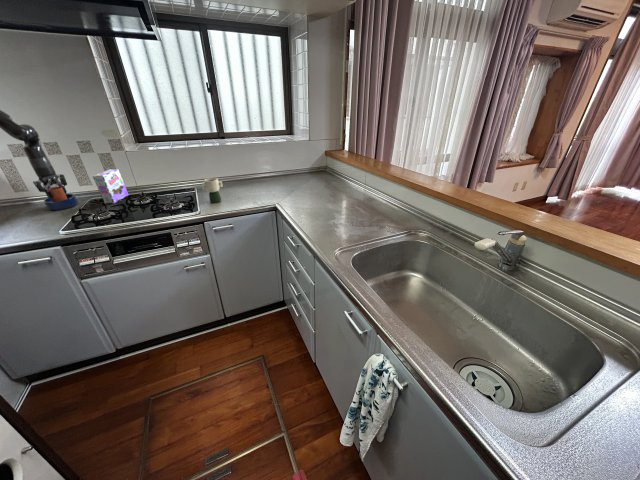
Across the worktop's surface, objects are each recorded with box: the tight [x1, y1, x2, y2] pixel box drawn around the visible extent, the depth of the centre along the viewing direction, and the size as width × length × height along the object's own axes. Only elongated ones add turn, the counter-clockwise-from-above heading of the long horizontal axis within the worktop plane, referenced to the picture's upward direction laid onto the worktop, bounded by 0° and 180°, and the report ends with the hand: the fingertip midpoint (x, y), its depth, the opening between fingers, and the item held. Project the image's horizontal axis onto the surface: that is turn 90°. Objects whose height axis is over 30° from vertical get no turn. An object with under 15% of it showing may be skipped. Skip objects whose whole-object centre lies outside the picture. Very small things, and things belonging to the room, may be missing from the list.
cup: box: [50, 186, 68, 202], centre depth 148 cm, size 6×6×9 cm
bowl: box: [43, 193, 79, 211], centre depth 150 cm, size 13×13×5 cm
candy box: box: [92, 168, 130, 204], centre depth 155 cm, size 14×6×16 cm, turn 179°
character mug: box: [201, 177, 223, 203], centre depth 151 cm, size 11×7×13 cm, turn 116°
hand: (58, 195), depth 148 cm, fingers closed on cup, 6 cm apart
